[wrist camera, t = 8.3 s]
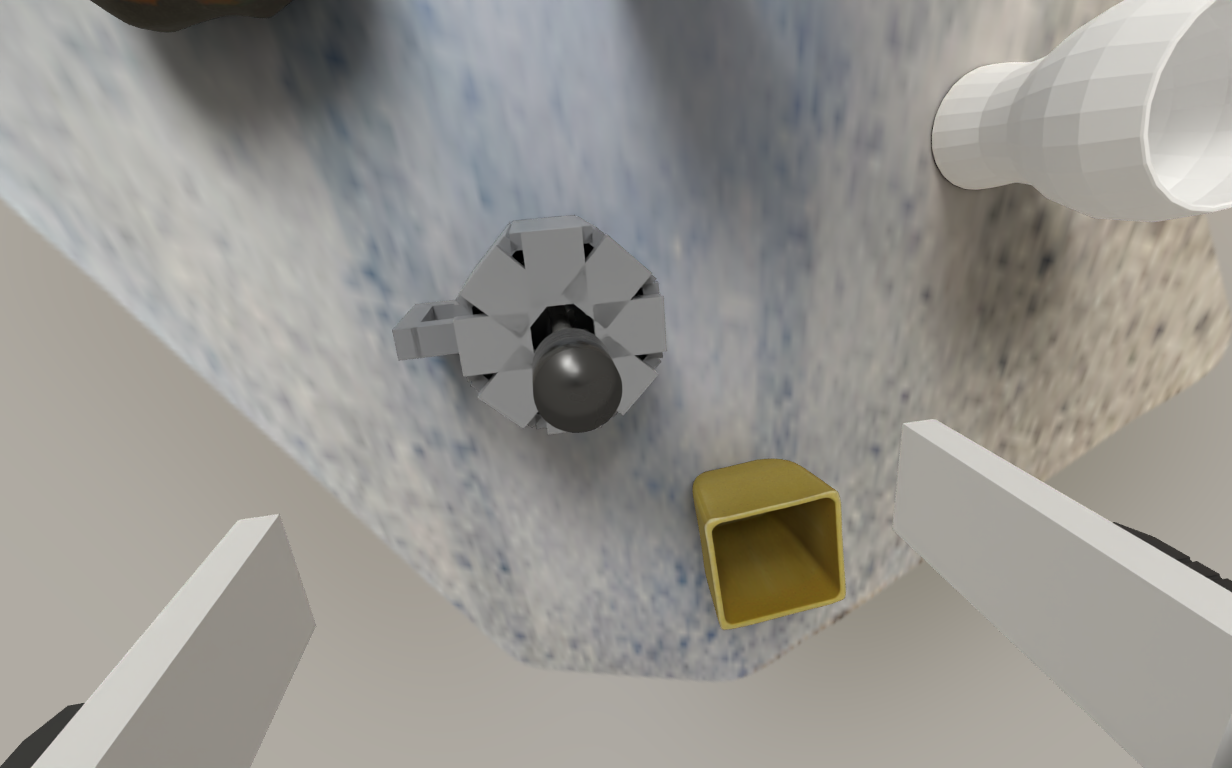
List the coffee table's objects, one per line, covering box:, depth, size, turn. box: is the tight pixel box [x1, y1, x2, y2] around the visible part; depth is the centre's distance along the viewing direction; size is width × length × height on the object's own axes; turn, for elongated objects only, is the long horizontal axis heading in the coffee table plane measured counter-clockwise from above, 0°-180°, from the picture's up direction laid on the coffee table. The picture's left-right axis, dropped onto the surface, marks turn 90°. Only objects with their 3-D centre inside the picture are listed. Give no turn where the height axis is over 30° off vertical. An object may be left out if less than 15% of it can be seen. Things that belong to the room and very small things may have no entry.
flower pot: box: [693, 459, 846, 630], centre depth 41 cm, size 9×9×9 cm
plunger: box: [521, 260, 622, 433], centre depth 28 cm, size 6×6×17 cm
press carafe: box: [392, 215, 667, 435], centre depth 33 cm, size 10×13×11 cm
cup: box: [932, 0, 1232, 222], centre depth 32 cm, size 11×11×15 cm
